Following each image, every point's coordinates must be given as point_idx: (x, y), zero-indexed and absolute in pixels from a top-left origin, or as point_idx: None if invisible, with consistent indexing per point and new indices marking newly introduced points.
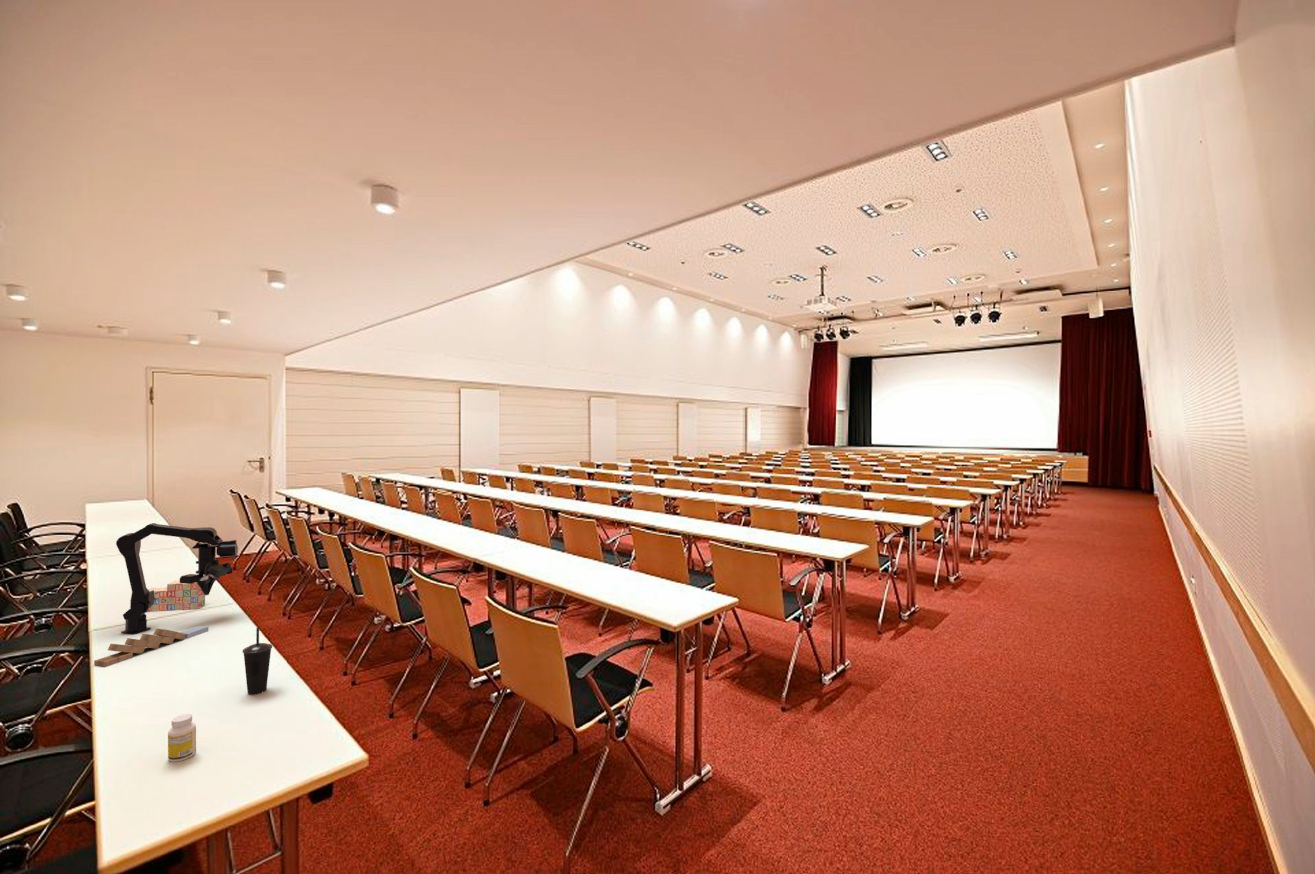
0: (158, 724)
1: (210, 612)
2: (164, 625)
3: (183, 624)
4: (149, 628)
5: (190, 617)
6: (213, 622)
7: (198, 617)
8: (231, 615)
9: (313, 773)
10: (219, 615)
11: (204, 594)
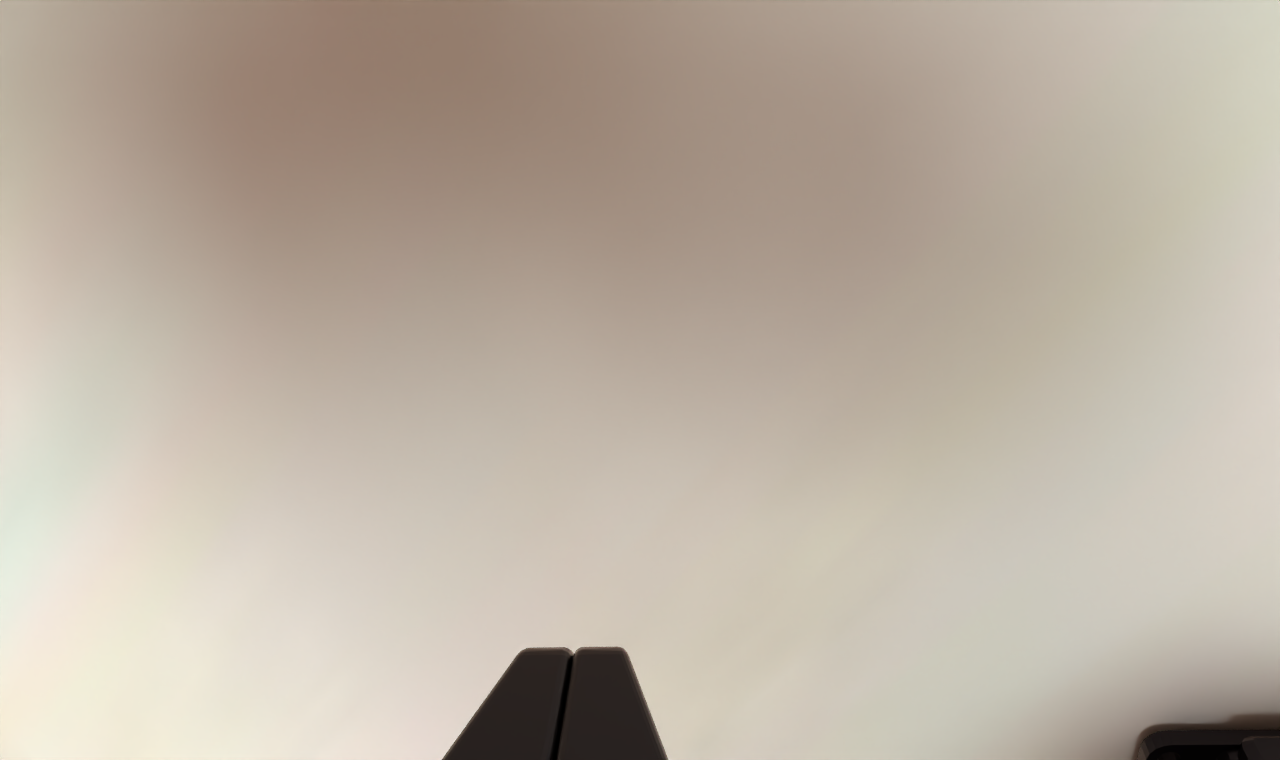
0: None
1: (143, 654)
2: (927, 709)
3: (815, 501)
4: (1173, 741)
5: (472, 704)
6: (528, 47)
7: (417, 603)
8: (2, 135)
9: None
10: (152, 376)
11: None
